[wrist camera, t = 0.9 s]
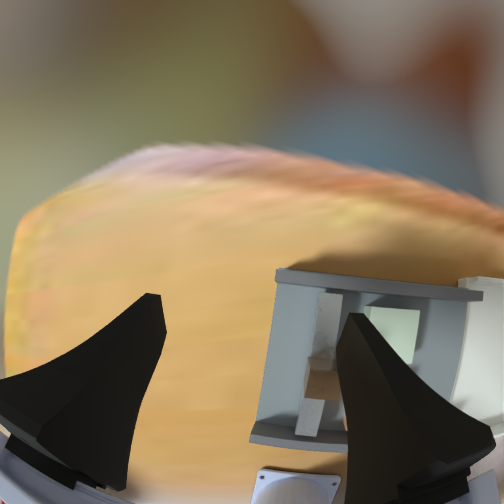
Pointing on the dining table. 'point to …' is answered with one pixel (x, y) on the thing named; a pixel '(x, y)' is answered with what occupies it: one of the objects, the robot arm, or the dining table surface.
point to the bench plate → (300, 337)
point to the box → (482, 356)
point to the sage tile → (396, 328)
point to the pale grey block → (320, 365)
